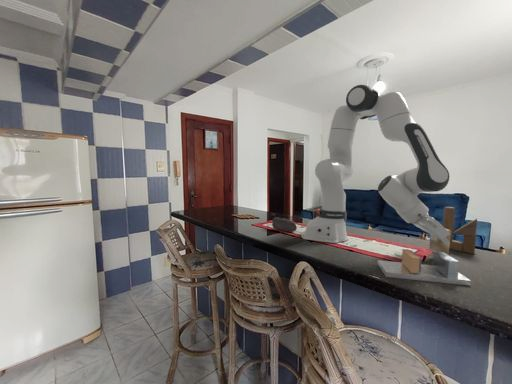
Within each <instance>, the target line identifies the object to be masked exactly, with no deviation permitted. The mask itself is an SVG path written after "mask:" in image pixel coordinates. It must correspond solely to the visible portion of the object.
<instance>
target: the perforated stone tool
mask: <svg viewBox="0 0 512 384" xmlns="http://www.w3.org/2000/svg"><path fill="white" fill-rule="evenodd" d="M271 226H272V228H273V229H275V230H278V231H282V232H288V233H289V232H290V233H291V232H292V233H293V232H295V231H297V228H298V227H297V224H296V223H295V222H293V221H292V220H291V219H287V218H282V217H277V216H275V217H273V218H272V221H271Z"/></svg>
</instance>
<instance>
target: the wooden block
mask: <svg viewBox="0 0 512 384" xmlns="http://www.w3.org/2000/svg"><path fill="white" fill-rule="evenodd" d="M455 211H456V208H455V207H453V206H445V207H443V218H442V219H443V221H442V226H443V227H444V228H446V229H448V230H450V231H451V236H450V246H449V251H456V252H461V253H466V254H471V255H474V254H475V253H476V252H475V251H476V239H477V236H476V235H477V225H478V218H475V219H473V220H472V221H470V222H468V223H466V224H465V225H463V226H461V227H459V228H457V229H456V230H454V225H455V214H456V213H455ZM454 235H460V236H462V237H463V238H462V239H463V240H462V242H461V241H459V240H455V239H453V238H454Z"/></svg>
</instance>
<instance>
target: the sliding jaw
mask: <svg viewBox="0 0 512 384" xmlns="http://www.w3.org/2000/svg"><path fill="white" fill-rule="evenodd" d="M401 253H402V254H401V262H402V264H403V265H404V266H405V267H406V268H407V269H408V270H409V271H410V272H411V273H419V272H421V264H422V261H423V259H422V257H420V256H419V255H418V254H417V253H415V252H414V251H413V250H412V249H411V250H410V249H404V248H403V249H402V251H401Z"/></svg>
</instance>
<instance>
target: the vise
mask: <svg viewBox="0 0 512 384" xmlns="http://www.w3.org/2000/svg"><path fill="white" fill-rule="evenodd" d="M432 253H433V255H432V265H431V264H423V263H421V272H419V273H411V272H410V271H409V270H408V269H407V268H406V267H405V266H404V265H403V264H402V261H401V262H399V261H389V260H377V266H378V267H379V268H380V270H381V272H382V273H383V275H384V276H385V277H387V278H392V279H393V278H395V279H403V280H404V279H405V280H413V281H415V280H416V281H422V282H431V283H439V284H440V283H441V284H451V285H460V286H461V285H462V286H472V285H471V284H472V280H470V279H469V278H468V277H466V276H465V275H464V274H462V273H460V272H459V267H460V261H459V260H457V259H456V258H454V257H452V256H451V255H447V254H446V253H444V252H432Z"/></svg>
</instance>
